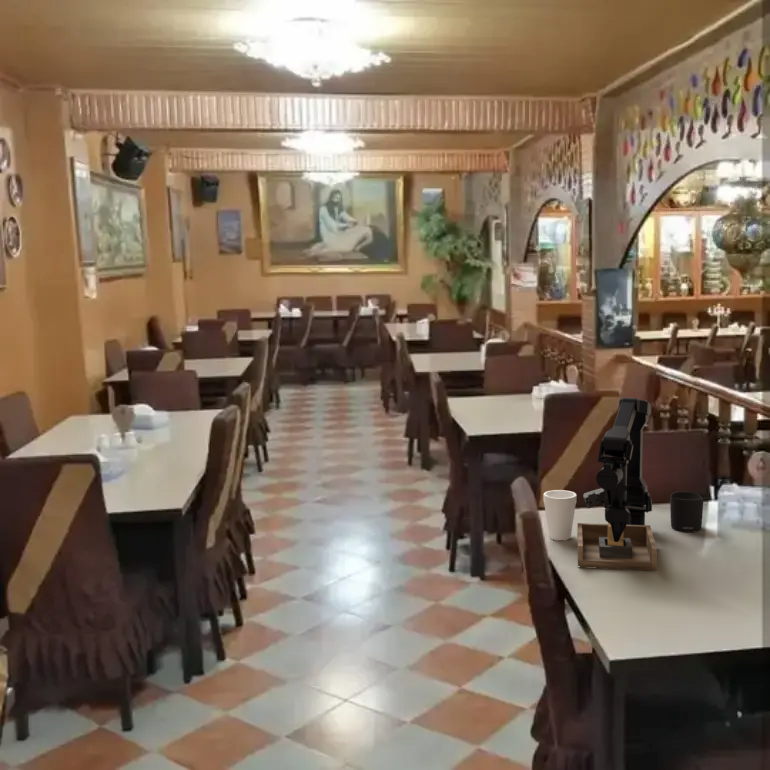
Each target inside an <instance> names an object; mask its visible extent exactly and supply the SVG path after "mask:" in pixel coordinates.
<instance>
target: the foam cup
mask: <svg viewBox="0 0 770 770" xmlns="http://www.w3.org/2000/svg"><path fill="white" fill-rule="evenodd" d="M543 504H544V510H545V517H546V525H547V533H548V538H549V539H550V540H553V539H554V540H553V541H558V540H564V541H568V540H567V539H569V538H570V539H571V538H572V533H573V532H572V531H573V525H574V520H575V519H574V517H575V510H576V504H577V493H576V492H574V491H570V490H564V489H553V490H547V491H545V492H544V493H543ZM570 539H569V540H570Z"/></svg>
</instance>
